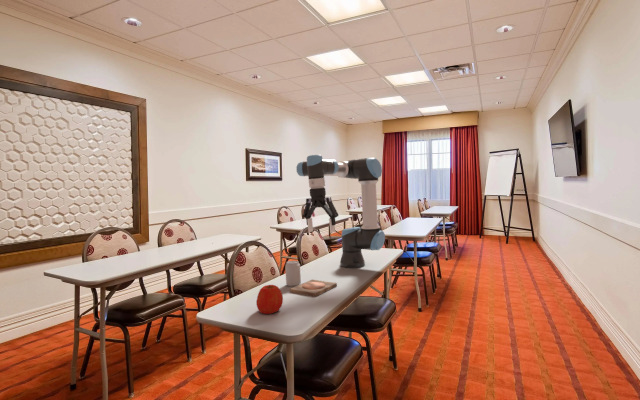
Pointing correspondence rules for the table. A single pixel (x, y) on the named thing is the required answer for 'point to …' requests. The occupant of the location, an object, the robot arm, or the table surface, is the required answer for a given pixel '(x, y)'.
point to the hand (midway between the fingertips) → (321, 232)
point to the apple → (269, 299)
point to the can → (293, 273)
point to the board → (313, 287)
